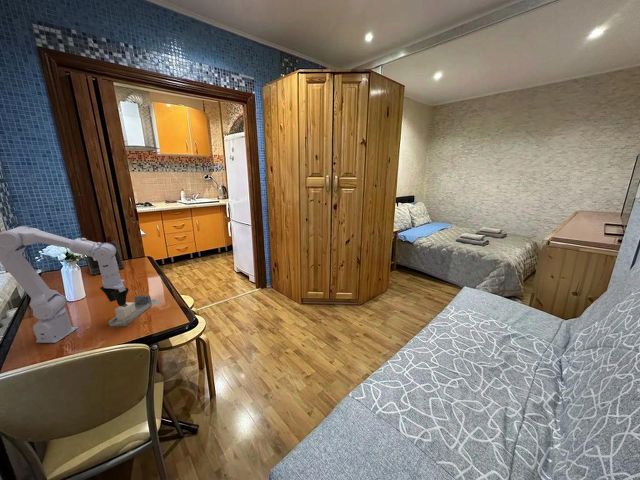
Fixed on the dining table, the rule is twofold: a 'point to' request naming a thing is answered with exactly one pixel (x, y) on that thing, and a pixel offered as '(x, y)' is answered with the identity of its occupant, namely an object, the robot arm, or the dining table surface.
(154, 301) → the mounting bracket
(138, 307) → the rail
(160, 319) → the dining table surface
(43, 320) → the robot arm
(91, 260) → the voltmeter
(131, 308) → the module
